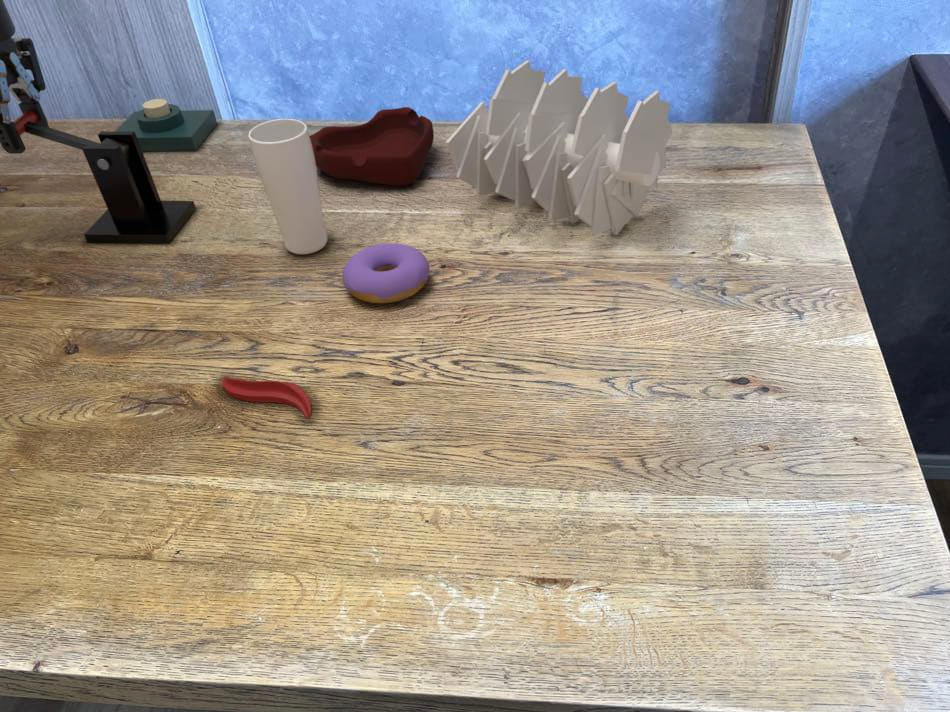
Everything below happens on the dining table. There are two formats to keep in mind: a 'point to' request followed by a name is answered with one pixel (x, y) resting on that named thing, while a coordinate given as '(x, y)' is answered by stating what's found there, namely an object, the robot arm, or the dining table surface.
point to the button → (156, 108)
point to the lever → (61, 134)
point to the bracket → (131, 196)
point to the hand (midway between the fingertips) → (29, 141)
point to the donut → (386, 273)
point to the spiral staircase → (564, 148)
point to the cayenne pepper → (268, 392)
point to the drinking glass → (290, 182)
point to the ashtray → (376, 148)
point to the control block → (171, 129)
